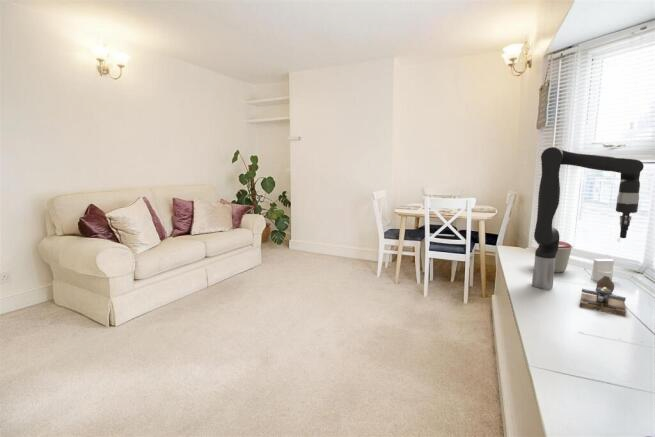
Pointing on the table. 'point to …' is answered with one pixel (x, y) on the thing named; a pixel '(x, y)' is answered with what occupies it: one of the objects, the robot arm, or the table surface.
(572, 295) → the table surface
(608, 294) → the capstan
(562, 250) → the canister
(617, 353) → the table surface
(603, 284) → the vase
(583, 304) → the stand
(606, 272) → the base with upright slab
